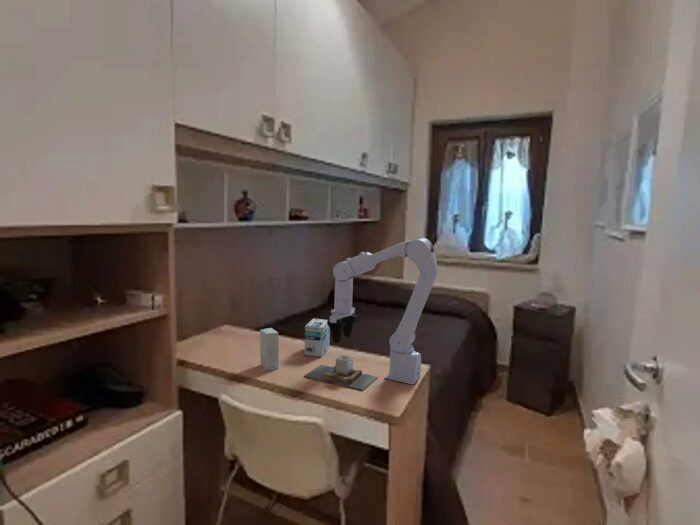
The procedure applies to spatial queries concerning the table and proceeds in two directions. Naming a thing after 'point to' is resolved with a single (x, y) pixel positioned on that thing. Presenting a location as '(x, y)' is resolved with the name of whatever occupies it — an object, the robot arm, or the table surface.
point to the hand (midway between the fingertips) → (341, 339)
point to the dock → (341, 377)
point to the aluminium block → (344, 366)
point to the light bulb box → (317, 337)
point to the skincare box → (269, 349)
